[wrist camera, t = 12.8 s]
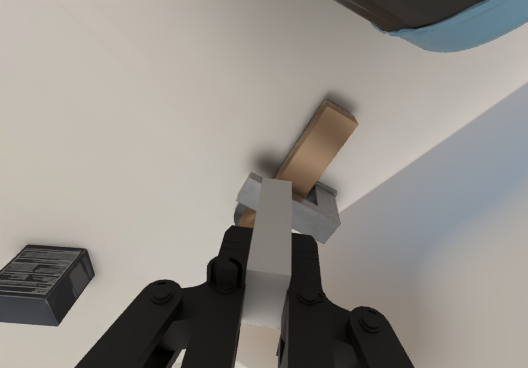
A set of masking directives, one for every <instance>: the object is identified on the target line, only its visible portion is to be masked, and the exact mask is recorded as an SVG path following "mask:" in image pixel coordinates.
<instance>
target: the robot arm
mask: <svg viewBox="0 0 528 368" xmlns="http://www.w3.org/2000/svg"><path fill="white" fill-rule="evenodd" d="M334 1H336V2H337V3H339V4H341V5H343V6H344V7H346V8H348V9H349V10H351V11H353V12H355V13H356V14H358V15H360V16H362V17H363V18H365V19H367V20H368V21H370V22H371V23H372V25H373V26H374V27H375V28H376V29H377V30H379V31H380V32H382V33H387V34H389V35H390V36H397V37H401V38H403V39H404V40H406V41H408V42H410V43H412V44H414V45H416V46H418V47H420V48H422V49H425V50H429V51H434V52H444V53H447V52H456V51H462V50H466V49H470V48H473V47H477V46H479V45H482V44H485V43H487V42H490V41H492V40H494V39H496V38H498V37H500V36H503V35H505V34H506V33H508V32H510V31H512V30H514V29H516V28H518V27H519V26H521V25H523V24H525V23H526V22H528V0H334ZM291 229H292V181H285V180H278V179H270V178H263V179H262V184H261V190H260V196H259V201H258V207H257V212H256V218H255V224H254V228H249V227H241V226H234V225H232V226H231V227H230V228H229V229H228V230H227V231H226V232H225V234H224V238H223V242H222V244H221V248H220V251H219V254H218V256H217V257H215V258H213V259H212V260H210V262H209V263H208V265H207V281H206V282H205V283H203V284H201V285H199V286H195V287H189V288H181V287H180V285H179V284H178V283H176V282H174V281H172V280H166V279H165V280H157V281H155V282H152V283H150V284H149V285H148V286H146V287H145V288H144V289H143V290H142V291H141V293H140V294H139V295H138V296H137V297H136V298H135V299H134V300H133V302H132V303H131V304H130V305H129V306H128V307H127V308H126V310H125V311H124V312H123V313H122V314H121V315H120V316H119V318H118V319H117V320H116V321H115V322H114V323H113V324H112V325H111V327H110V328H109V329H108V330H107V331H106V332H105V333H104V335H103V336H102V337H101V338H100V339H99V340H98V341H97V343H96V344H95V345H94V346H93V347H92V348H91V349H90V351H89V352H88V353H87V354H86V355H85V356H84V357H83V358H82V360H81V361H80V362H79V363H78V364H77V365H76V366H75V368H171V367H172V366H173V364H174V362H175V361H176V359H177V357H178V356H179V354H180V352H181V350H182V349H186V352H185V355H184V358H183V361H182V364H181V368H234V366H235V360H236V354H237V347H238V341H239V334H240V326H241V323H243V324H250V325H257V326H264V327H271V328H278V329H280V327H281V335H280V340H279V344H278V349H277V354H276V355H277V356H278V368H414V366H413V364H412V362H411V361H410V359H409V357H408V356H407V354H406V352H405V350H404V348H403V347H402V345H401V343H400V341H399V340H398V338H397V336H396V334H395V332H394V331H393V329H392V327H391V325H390V323H389V322H388V320H387V319H386V318H385V317H384V315H382V314H381V313H380V312H378V311H377V310H375V309H373V308H370V307H364V306H360V307H357V308H354V309H353V310H352V311H351V312H350V311H348V310H346V309H343V308H341V307H339V306H337V305H335V304H333V303H332V302H331V301H330V300H328V298H327V297H326V295H325V293H324V292H323V290H322V285H321V276H320V265H319V257H318V256H319V255H318V246H317V243H316V241H315V239H314V238H313V236H312V235H305V234H298V233H291Z"/></svg>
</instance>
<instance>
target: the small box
mask: <svg viewBox="0 0 528 368" xmlns="http://www.w3.org/2000/svg"><path fill="white" fill-rule="evenodd" d="M94 276H95V274H94V271H93V268H92V264H91V261H90V258H89V255H88V252H87V250H86V249H79V248H64V247H49V246H33V245H27V246H26V247H25V248H24V249H23V250H22V251H21V252H20V253H19V254H18V255H16V257H14V258H13V259H12V260H11V261H10V262H9V263H8V264H7V265H6V266H5V267H4V268H3V269H1V270H0V322H6V323H19V324H32V325H45V326H59V324H60V323H61V321H62V320H63V318H64V317H65V316H66V314H67V313H68V311H69V310H70V309H71V307H72V306H73V304H74V303H75V302H76V300H77V299H78V298H79V296H80V295H81V293H82V292H83V291H84V289H85V288H86V286H87V285H88V284H89V282H90V281H91V280H92V278H93V277H94Z"/></svg>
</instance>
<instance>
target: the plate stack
mask: <svg viewBox="0 0 528 368" xmlns="http://www.w3.org/2000/svg"><path fill="white" fill-rule="evenodd" d="M181 364H182V363H175V362H174V364H173V366H172V367H171V368H181Z"/></svg>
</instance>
